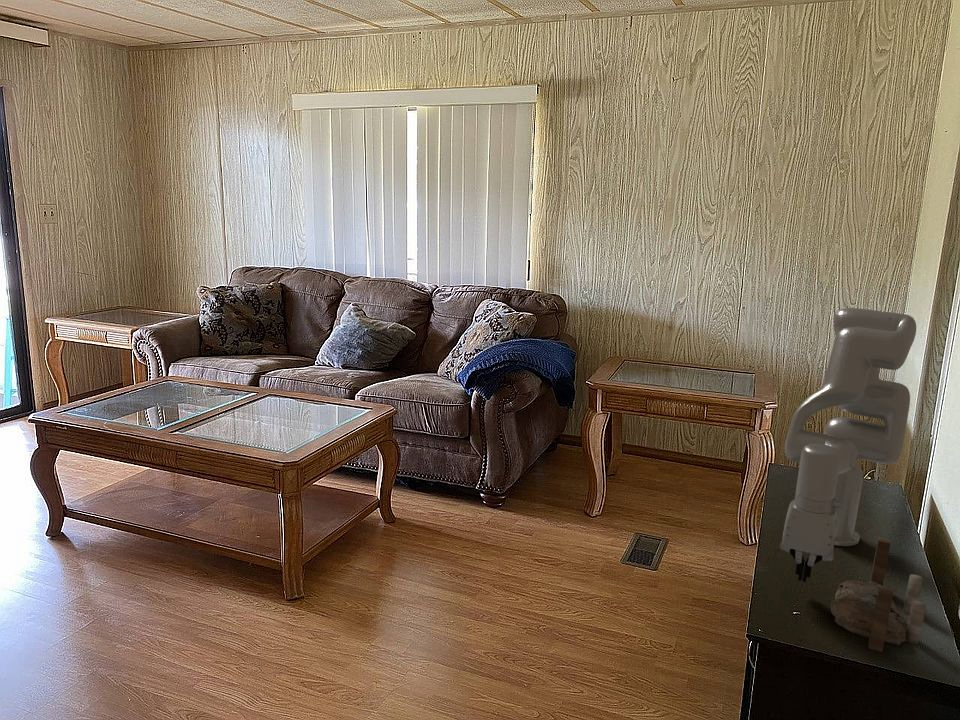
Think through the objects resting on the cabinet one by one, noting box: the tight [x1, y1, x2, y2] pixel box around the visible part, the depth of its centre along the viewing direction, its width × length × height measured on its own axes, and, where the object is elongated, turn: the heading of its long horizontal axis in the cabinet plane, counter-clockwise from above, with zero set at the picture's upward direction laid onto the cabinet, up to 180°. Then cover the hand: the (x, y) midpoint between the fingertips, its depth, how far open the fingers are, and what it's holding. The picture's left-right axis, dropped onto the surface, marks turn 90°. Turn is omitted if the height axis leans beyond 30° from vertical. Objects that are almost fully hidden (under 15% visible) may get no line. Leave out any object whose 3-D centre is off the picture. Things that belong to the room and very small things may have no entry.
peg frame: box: [868, 536, 927, 653], centre depth 154 cm, size 27×9×12 cm, turn 153°
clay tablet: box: [830, 579, 907, 646], centre depth 157 cm, size 14×5×20 cm
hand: (802, 578), depth 164 cm, fingers closed
